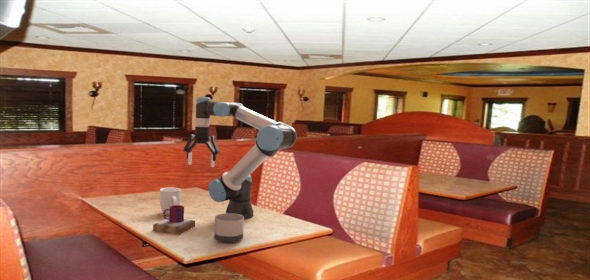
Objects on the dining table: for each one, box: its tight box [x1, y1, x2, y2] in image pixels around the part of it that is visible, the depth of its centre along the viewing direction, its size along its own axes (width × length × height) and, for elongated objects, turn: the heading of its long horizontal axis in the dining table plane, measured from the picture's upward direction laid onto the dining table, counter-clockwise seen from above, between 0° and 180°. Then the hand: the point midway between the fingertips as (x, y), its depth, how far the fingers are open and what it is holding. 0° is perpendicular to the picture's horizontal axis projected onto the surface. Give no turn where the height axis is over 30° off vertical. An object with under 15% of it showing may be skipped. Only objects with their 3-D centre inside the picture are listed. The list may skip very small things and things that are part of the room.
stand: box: [152, 217, 196, 236], centre depth 202 cm, size 14×14×4 cm
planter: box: [213, 212, 245, 244], centre depth 190 cm, size 13×13×10 cm
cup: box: [162, 204, 185, 223], centre depth 202 cm, size 7×10×7 cm
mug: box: [159, 186, 182, 215], centre depth 227 cm, size 15×11×13 cm
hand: (201, 165), depth 228 cm, fingers open, 13 cm apart
